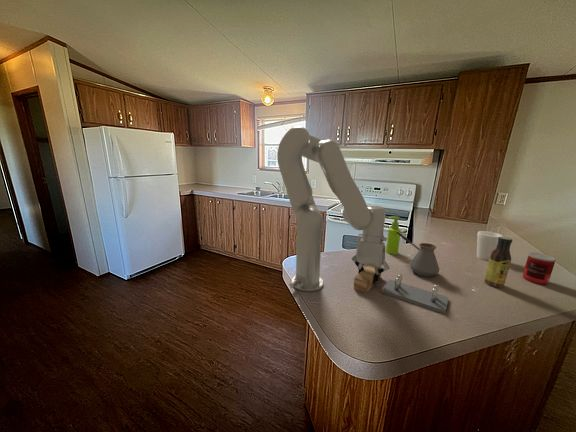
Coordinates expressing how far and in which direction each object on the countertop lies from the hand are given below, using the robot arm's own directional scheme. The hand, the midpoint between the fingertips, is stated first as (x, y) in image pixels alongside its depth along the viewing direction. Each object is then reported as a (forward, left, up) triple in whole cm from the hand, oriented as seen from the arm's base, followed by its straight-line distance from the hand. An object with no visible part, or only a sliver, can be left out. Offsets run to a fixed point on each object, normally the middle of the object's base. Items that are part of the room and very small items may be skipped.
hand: (368, 279), depth 95 cm
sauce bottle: (+31, -41, -2) cm, 51 cm away
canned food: (+46, -55, -2) cm, 72 cm away
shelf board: (0, 0, -2) cm, 2 cm away
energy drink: (+22, +11, -2) cm, 25 cm away
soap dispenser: (+39, +1, -2) cm, 39 cm away
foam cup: (+62, -39, -2) cm, 73 cm away
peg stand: (+1, -17, -1) cm, 17 cm away
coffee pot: (+26, -12, -2) cm, 29 cm away
